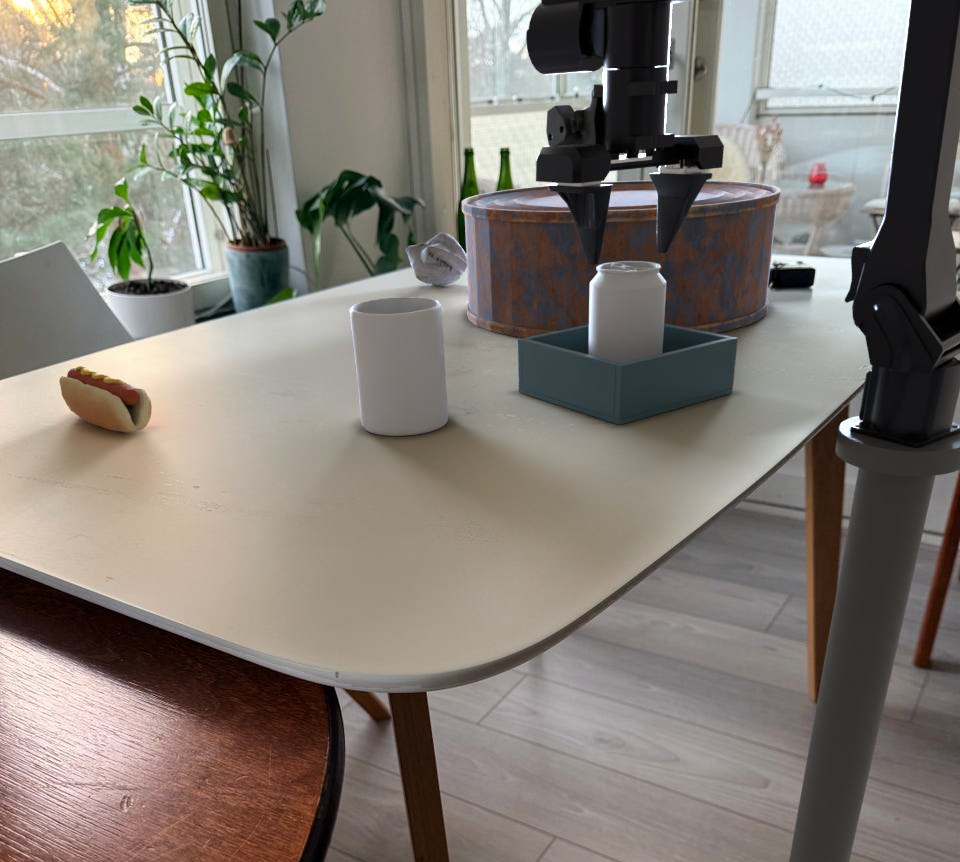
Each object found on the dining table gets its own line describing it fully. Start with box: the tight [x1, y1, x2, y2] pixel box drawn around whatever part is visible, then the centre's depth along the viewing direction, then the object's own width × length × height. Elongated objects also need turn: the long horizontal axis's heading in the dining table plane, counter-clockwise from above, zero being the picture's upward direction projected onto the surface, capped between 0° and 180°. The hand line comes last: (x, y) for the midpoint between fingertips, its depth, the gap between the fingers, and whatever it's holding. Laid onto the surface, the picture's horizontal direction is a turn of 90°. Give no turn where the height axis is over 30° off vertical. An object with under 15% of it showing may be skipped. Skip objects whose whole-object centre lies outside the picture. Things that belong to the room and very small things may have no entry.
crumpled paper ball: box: [405, 231, 467, 286], centre depth 154 cm, size 11×9×8 cm
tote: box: [517, 323, 739, 426], centre depth 93 cm, size 16×16×6 cm
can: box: [588, 261, 667, 363], centre depth 91 cm, size 8×8×12 cm
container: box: [461, 180, 782, 338], centre depth 128 cm, size 43×43×15 cm
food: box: [59, 365, 153, 434], centre depth 92 cm, size 14×6×5 cm, turn 45°
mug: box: [349, 296, 449, 437], centre depth 87 cm, size 12×8×11 cm
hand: (628, 258), depth 88 cm, fingers open, 9 cm apart
